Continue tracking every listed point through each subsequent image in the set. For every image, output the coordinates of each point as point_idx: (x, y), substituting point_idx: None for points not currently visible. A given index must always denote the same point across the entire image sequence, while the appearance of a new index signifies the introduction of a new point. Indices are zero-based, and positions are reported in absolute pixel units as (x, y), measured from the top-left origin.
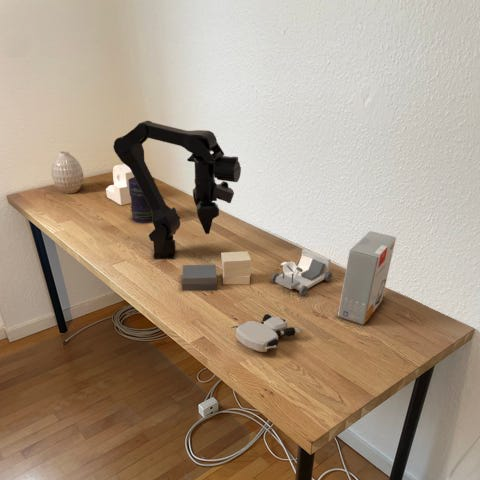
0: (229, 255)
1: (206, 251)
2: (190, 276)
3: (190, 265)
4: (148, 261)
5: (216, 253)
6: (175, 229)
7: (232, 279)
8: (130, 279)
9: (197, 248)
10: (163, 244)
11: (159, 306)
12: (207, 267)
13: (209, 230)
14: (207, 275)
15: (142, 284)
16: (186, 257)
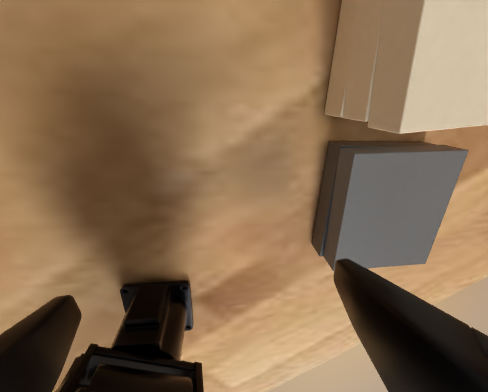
0: (456, 79)
1: (108, 178)
2: (422, 242)
3: (340, 248)
4: (208, 332)
5: (121, 134)
6: (146, 388)
7: None
8: (305, 347)
9: (85, 213)
10: (180, 350)
11: (447, 279)
12: (372, 187)
13: (378, 278)
14: (437, 186)
15: (335, 324)
16: (174, 245)
